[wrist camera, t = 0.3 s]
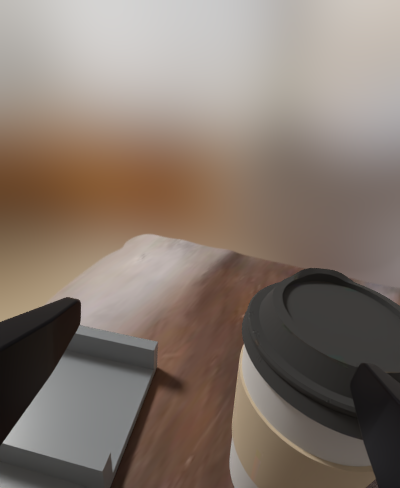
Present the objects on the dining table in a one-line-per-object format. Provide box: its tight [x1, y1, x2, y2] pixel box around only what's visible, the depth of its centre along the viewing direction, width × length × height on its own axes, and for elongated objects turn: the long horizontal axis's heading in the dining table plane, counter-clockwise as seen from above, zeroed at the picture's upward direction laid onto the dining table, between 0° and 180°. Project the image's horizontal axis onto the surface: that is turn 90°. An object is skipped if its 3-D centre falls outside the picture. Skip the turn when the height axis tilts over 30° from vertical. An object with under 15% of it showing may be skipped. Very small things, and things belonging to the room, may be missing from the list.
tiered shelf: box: [0, 325, 158, 488], centre depth 18 cm, size 19×12×3 cm, turn 169°
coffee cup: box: [230, 268, 400, 488], centre depth 16 cm, size 9×9×15 cm
